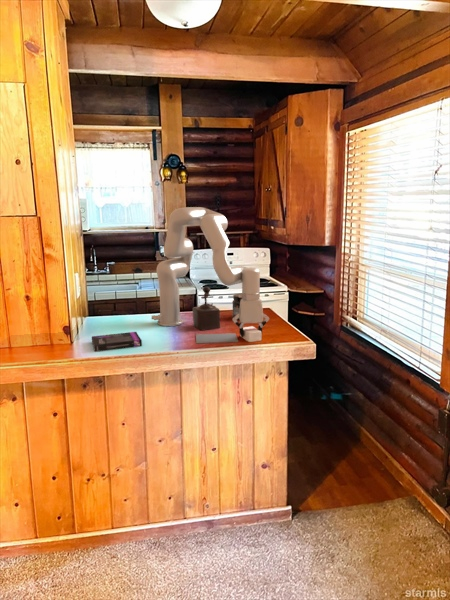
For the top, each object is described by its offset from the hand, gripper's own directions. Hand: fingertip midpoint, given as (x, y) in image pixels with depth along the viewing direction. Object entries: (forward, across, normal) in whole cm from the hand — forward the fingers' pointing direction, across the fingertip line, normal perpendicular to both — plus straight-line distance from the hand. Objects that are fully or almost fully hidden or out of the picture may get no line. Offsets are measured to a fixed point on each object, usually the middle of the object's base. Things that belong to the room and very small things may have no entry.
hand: (250, 335), depth 196 cm
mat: (+1, -15, +1) cm, 15 cm away
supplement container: (+1, +1, +35) cm, 35 cm away
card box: (+1, 0, 0) cm, 1 cm away
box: (+2, -58, -1) cm, 58 cm away
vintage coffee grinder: (+1, -19, +23) cm, 30 cm away
